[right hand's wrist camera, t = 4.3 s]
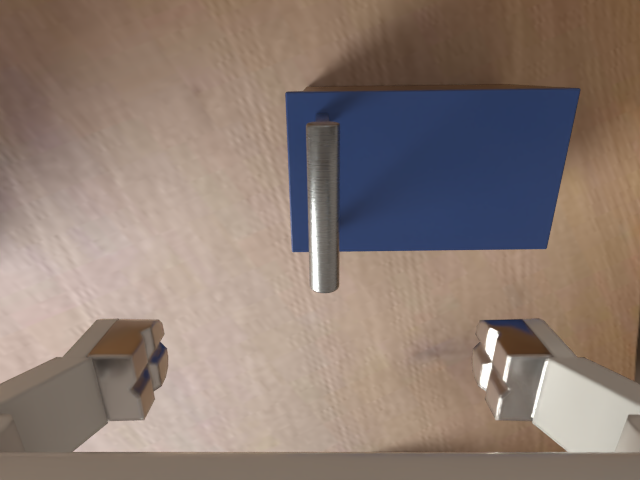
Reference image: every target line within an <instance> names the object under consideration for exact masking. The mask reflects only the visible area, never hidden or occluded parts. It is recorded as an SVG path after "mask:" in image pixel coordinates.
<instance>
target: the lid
mask: <svg viewBox="0 0 640 480" xmlns="http://www.w3.org/2000/svg"><path fill="white" fill-rule="evenodd" d="M579 94H580V89H579V88H529V89H452V90H375V91H298V92H286V94H285V95H286V120H287V144H288V168H289V192H290V217H291V241H292V252H309V272H310V287H311V289H312V290H313V291H315V292H319V293H330V292H333V291H335V290H337V289H338V287H339V251H420V250H500V249H546V248H547V245H548V240H549V235H550V231H551V226H552V221H553V216H554V212H555V207H556V202H557V198H558V193H559V188H560V184H561V179H562V174H563V169H564V165H565V160H566V155H567V151H568V146H569V141H570V136H571V132H572V127H573V122H574V118H575V113H576V108H577V104H578V99H579Z"/></svg>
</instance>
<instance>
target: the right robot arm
mask: <svg viewBox="0 0 640 480" xmlns="http://www.w3.org/2000/svg"><path fill="white" fill-rule="evenodd" d="M163 336H164V329H163V325H162V322H161V321H160V320H152V319H99V320H96V321H95V322H94V324H93V325H92V326H91V327H90V328H89V329H88V330H87V331H86V332H85V333H84V334H83V336H82V337H81V338H80V339H79V340H78V341H77V342H76V343H75V344H74V345H73V346H72V347H71V349H70V350H69V351H68V352H67V353H66V354H65V355H64V356H63V357H56V358H54V359H52V360H49V361H47V362H45V363H43V364H41V365H39V366H37V367H35V368H33V369H30V370H28V371H26V372H24V373H22V374H20V375H18V376H16V377H14V378H12V379H9V380H7V381H5V382H3V383H1V384H0V480H640V384H639V383H637V382H635V381H632V380H630V379H628V378H626V377H624V376H622V375H620V374H618V373H616V372H614V371H612V370H609V369H607V368H605V367H603V366H601V365H599V364H597V363H595V362H593V361H591V360H588V359H586V358H584V357H577V356H576V355H575V354H574V353H573V352H572V351H571V350H570V349H569V347H568V346H567V345H566V344H565V343H564V342H563V341H562V340H561V339H560V338H559V337H558V335H557V334H556V333H555V332H554V331H553V330H552V329H551V328H550V327H549V326H548V325H547V324H546V322H545V321H544V320H541V319H539V318H538V319H514V320H480V321H479V323H478V325H477V329H476V336H477V338H478V339H479V341H480V342H479V343H478V344H477V345H476V346H475V347H474V348H473V353H472V371H473V374H474V378H475V380H476V382H477V384H478V386H479V387H481V388H482V389H484V390H485V391H486V397H485V400H486V402H487V404H488V406H489V408H490V410H491V412H492V414H493V415H494V417H495V419H496V420H511V421H532V423H533V424H534V425H535V426H537V427H538V428H539V429H540V430H542V431H543V432H544V433H545V434H546V435H548V436H549V437H550V438H551V439H553V440H554V441H555V442H556V443H558V444H559V445H560V446H561V447H562V448H564V449H565V450H566V451H567V452H73V451H74V450H75V449H76V448H78V447H79V446H80V445H81V444H83V443H84V442H85V441H86V440H88V439H89V438H90V437H91V436H92V435H94V434H95V433H96V432H97V431H99V430H100V429H101V428H102V427H104V426H105V425H106V424H107V423H108V421H128V420H144V419H145V417H146V416H147V414H148V412H149V410H150V408H151V406H152V404H153V402H154V400H155V397H154V391H155V390H156V389H158V388H159V387H161V386H162V384H163V382H164V380H165V378H166V374H167V369H168V352H167V348H166V347H165V346H164V345H163V344H162V343H161V342H160V341H161V339H162V338H163Z"/></svg>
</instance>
